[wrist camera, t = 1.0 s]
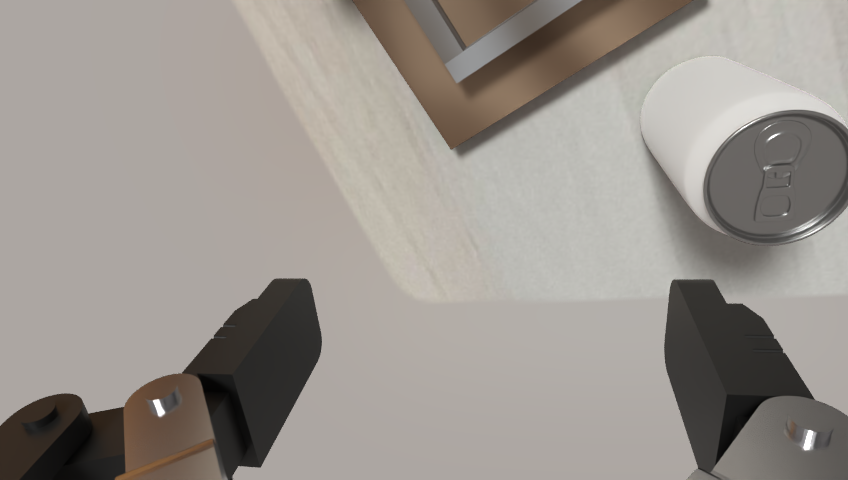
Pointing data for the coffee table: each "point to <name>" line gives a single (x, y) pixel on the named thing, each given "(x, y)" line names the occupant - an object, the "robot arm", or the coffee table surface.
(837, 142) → the can
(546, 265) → the coffee table surface
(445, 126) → the wall board
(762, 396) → the robot arm
